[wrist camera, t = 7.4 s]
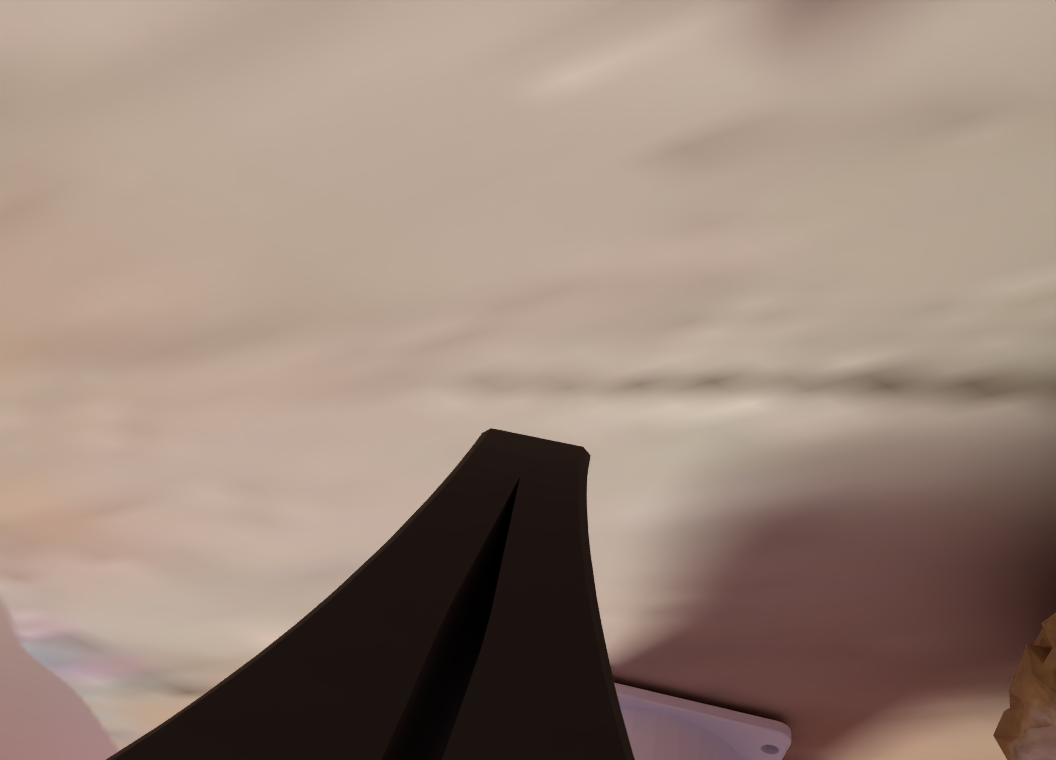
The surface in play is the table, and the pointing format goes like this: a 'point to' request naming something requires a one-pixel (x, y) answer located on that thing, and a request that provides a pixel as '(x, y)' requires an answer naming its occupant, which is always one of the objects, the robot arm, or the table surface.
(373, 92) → the table surface
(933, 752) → the table surface
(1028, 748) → the brown oblong lump
